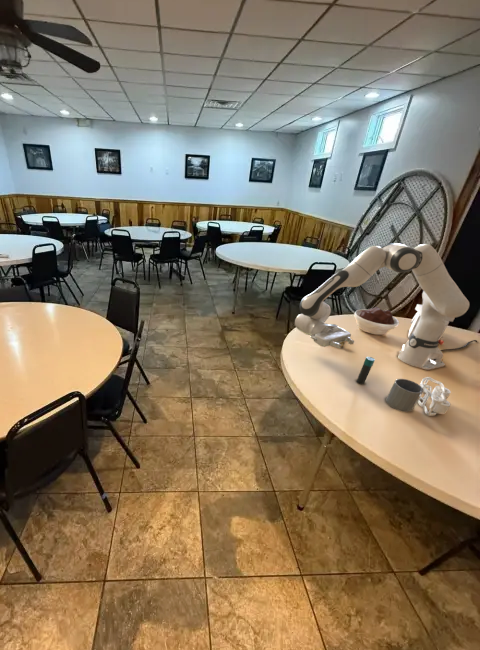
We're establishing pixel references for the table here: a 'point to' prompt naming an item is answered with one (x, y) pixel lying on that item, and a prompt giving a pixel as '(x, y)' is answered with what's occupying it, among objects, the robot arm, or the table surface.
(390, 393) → the pen pot
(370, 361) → the marker pen
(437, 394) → the white cage
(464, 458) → the table surface
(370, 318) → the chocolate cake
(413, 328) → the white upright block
